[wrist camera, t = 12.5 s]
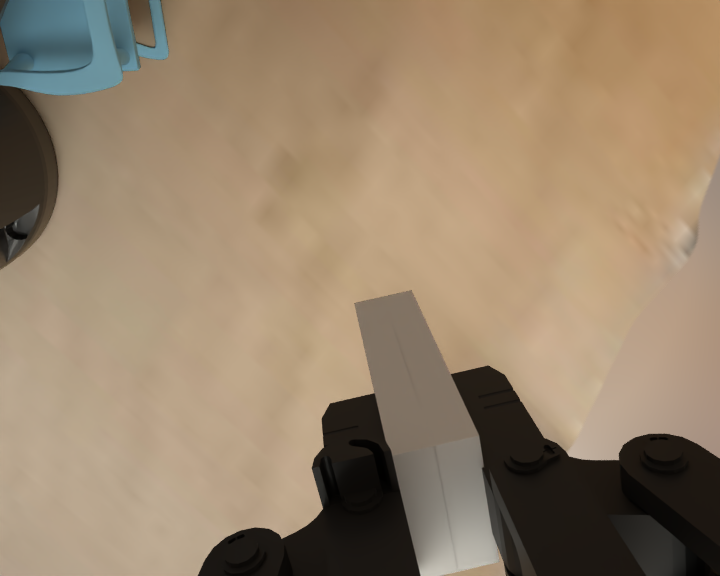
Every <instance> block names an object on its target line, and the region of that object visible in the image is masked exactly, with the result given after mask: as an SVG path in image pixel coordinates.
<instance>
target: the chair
mask: <svg viewBox="0 0 720 576" xmlns="http://www.w3.org/2000/svg"><path fill="white" fill-rule="evenodd" d="M149 5H150V11H151V17H152V23H153V29H154V35H155V41H156V44H155V47H151V48H150V47H147V46H144V45H141V44H139V43H136V40H135V35H134V31H133V26H132V21H131V16H130V11H129V6H128V1H127V0H9V2H8V4H7V7H6V9H5V12H4V14H3V17H2V19H1V22H0V27H1V31H2V35H3V39H4V42H5V46H6V50H7V54H8V57H9V61H10V62H9V63H8V64H7V65H6V66H5V68H4V69H2V70H0V85H3V86H11V87H17V88H22V89H26V90H30V91H34V92H39V93H44V94H51V95H77V94H85V93H91V92H96V91H100V90H104V89H108V88H111V87H114V86H116V85H118V84H119V83H120V82H121V81H122V79H123V72H122V71H136V70H139V69H140V67H141V66H140V61H139V56H141V57H145V58H150V59H156V60H164V59H166V58H167V57H168V54H169V50H168V44H167V38H166V32H165V25H164V19H163V13H162V7H161V0H149Z"/></svg>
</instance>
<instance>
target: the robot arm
mask: <svg viewBox="0 0 720 576" xmlns="http://www.w3.org/2000/svg"><path fill="white" fill-rule="evenodd" d="M8 2H9V0H0V22H1V19H2V17H3V14H4V12H5V9H6V7H7V4H8ZM57 186H58V174H57V164H56V158H55V153H54V149H53V146H52V143H51V140H50V137H49V134H48V132H47V130H46V128H45V126H44V124H43V122H42V120H41V118H40V116H39V115H38V113H37V111H36V110H35V108H34V107H33V105H32V104H31V103H30V101H29V100H28V99H27V98H26V96H25V95H24V94H23V93H22V92H21V90H20V89H19V88H17V87H11V86H3V85H0V269H2V268H4V267H5V266H7V265H8V264H10V263H11V262H12V261H14V260H15V259H16V258H17V257H19V256H20V255H21V254H23V253H24V252H25V251H26V250H27V249H28V248H29V247H30V246H31V245H32V244H33V243H34V242H35V241H36V240H37V239H38V238H39V236H40V235H41V233H42V232H43V231H44V229H45V227H46V225H47V224H48V221H49V219H50V217H51V214H52V212H53V209H54V205H55V201H56V195H57ZM354 304H355V308H356V313H357V317H358V322H359V326H360V331H361V335H362V339H363V344H364V348H365V353H366V357H367V362H368V366H369V370H370V375H371V379H372V384H373V388H374V394H370V395H365V396H361V397H356V398H352V399H348V400H343V401H339V402H335V403H330V405H329V406H328V408H327V410H326V412H325V414H324V415H323V417H322V429H323V442H324V448H323V449H322V450H321V451H320V452H319V453H318V455H317V456H316V457H315V458H314V462H313V466H312V470H313V474H314V478H315V481H316V485H317V488H318V492H319V495H320V499H321V502H322V506H323V510H322V511H321V512H320V514H319V515H318V516H317V518H315V519H314V520H313V521H312V522H311V523H310V524H308V525H307V526H305V527H304V528H302V529H300V530H299V531H297V532H295V533H293V534H291V535H289V536H287V537H285V538H283V539H281V537H280V535H279V534H277V533H276V532H274V531H272V530H270V529H265V528H251V529H246V530H241V531H239V532H237V533H234V534H232V535H230V536H228V537H226V538H225V539H224V540H222V541H221V542H220V543H219V544H217V545H216V546H215V547H214V548H213V549H212V551H211V552H210V554H209V555H208V556H207V558H206V559H205V561H204V563H203V566H202V568H201V570H200V572H199V574H198V576H441V575H446V574H450V573H454V572H458V571H463V570H467V569H471V568H476V567H480V566H484V565H488V564H493V563H497V562H499V556H498V550H497V546H498V549H499V551H500V554H501V556H502V559H503V561H504V566H505V572H506V576H720V458H718V457H716V456H715V455H713V454H712V453H710V452H709V451H707V450H706V449H704V448H702V447H701V446H700V445H698V444H696V443H694V442H692V441H690V440H688V439H685V438H683V437H679V436H674V435H670V434H647V435H643V436H639V437H635V438H633V439H632V440H630V441H629V442H627V443H626V444H624V445H623V447H622V449H621V451H620V453H619V460H602V461H601V460H581V459H577V458H573V457H569V456H568V454H567V453H566V451H565V450H564V449H562V448H561V447H560V446H559V445H558V444H557V443H555V442H552V441H550V440H548V439H545V438H544V437H543V436H542V434H541V432H540V431H539V429H538V428H537V426H536V424H535V423H534V421H533V420H532V418H531V416H530V415H529V413H528V412H527V410H526V408H525V407H524V405H523V403H522V402H520V399H519V397H518V395H517V394H516V392H515V391H514V390H513V387H512V386H511V384H510V383H509V381H508V379H507V378H506V376H505V375H504V374H502V373H500V372H499V371H497V370H495V369H493V368H492V367H490V366H484V367H480V368H476V369H471V370H467V371H463V372H458V373H454V374H450V372H449V370H448V368H447V366H446V363H445V361H444V359H443V357H442V355H441V353H440V351H439V348H438V346H437V344H436V342H435V340H434V338H433V335H432V333H431V331H430V329H429V327H428V325H427V323H426V320H425V318H424V316H423V314H422V312H421V310H420V307H419V305H418V303H417V301H416V299H415V297H414V295H413V292H412V290H410V291H406V292H401V293H397V294H393V295H388V296H384V297H379V298H375V299H371V300H366V301H362V302H357V303H354Z"/></svg>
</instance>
